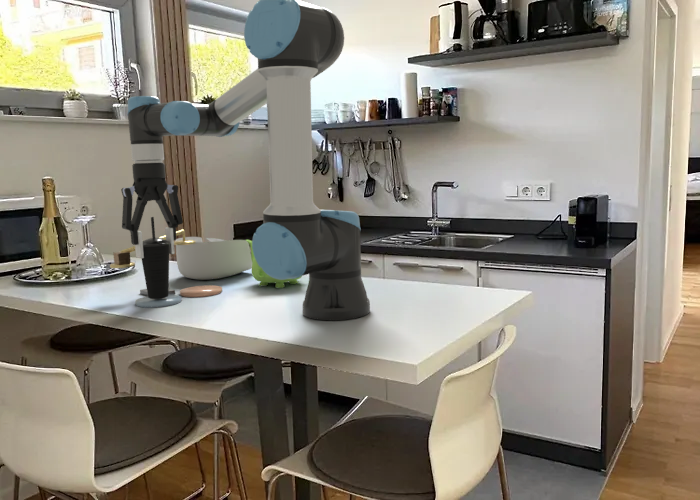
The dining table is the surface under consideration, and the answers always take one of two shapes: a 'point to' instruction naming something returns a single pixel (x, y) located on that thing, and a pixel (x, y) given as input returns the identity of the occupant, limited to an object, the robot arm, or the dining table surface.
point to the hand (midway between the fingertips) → (155, 255)
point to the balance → (124, 255)
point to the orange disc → (200, 291)
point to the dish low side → (158, 301)
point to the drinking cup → (156, 265)
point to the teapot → (265, 278)
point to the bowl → (213, 258)
